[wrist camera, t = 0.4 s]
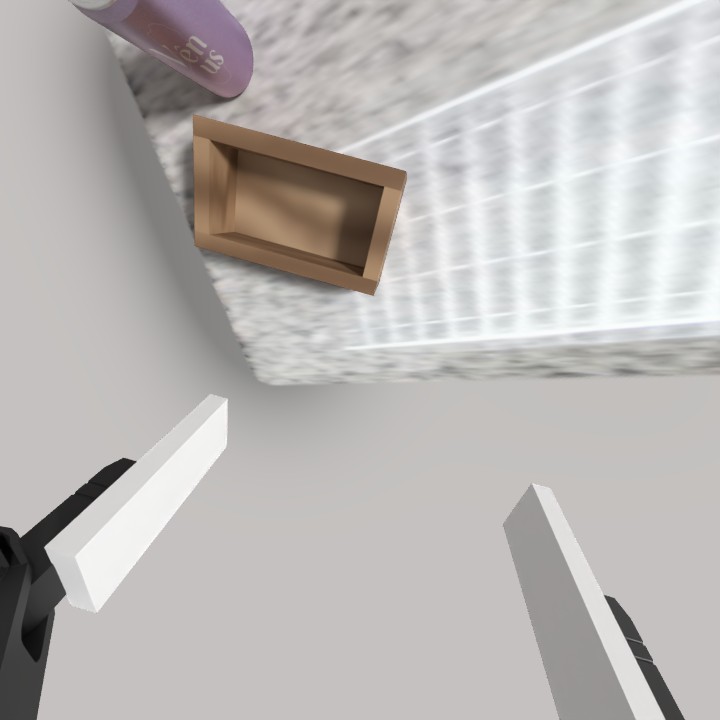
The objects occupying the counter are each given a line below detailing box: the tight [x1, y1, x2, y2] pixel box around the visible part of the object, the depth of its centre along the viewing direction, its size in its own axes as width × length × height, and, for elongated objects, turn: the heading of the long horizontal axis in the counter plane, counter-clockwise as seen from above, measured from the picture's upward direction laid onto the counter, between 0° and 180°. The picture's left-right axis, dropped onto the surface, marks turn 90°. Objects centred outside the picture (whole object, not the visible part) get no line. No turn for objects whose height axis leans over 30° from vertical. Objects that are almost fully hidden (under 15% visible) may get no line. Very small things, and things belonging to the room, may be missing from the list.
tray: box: [193, 114, 407, 296], centre depth 31 cm, size 11×19×6 cm, turn 76°
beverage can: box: [68, 0, 253, 98], centre depth 22 cm, size 6×6×15 cm
